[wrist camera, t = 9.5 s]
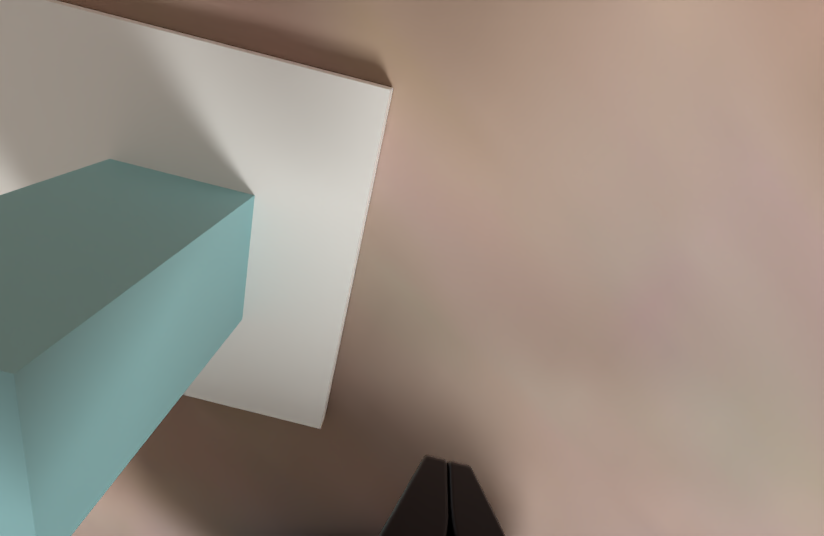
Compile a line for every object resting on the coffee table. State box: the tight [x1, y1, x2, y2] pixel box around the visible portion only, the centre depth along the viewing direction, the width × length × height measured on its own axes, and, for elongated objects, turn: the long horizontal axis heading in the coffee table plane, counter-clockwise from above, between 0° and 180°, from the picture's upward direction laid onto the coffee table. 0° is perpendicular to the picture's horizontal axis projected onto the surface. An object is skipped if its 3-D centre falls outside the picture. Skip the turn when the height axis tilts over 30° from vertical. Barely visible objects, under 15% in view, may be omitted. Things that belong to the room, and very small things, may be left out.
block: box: [0, 159, 255, 536], centre depth 11 cm, size 4×4×8 cm
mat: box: [0, 0, 393, 429], centre depth 15 cm, size 16×11×1 cm
